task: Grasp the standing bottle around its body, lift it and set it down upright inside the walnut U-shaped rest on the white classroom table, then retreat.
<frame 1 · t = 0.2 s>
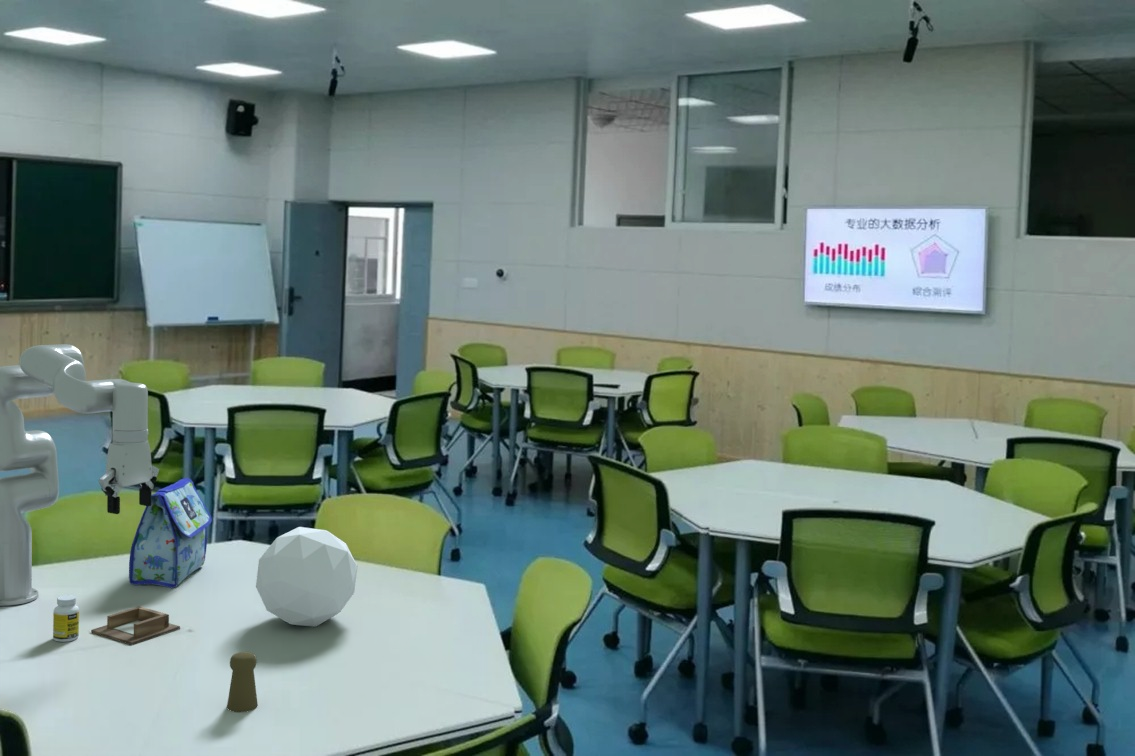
hand: (129, 509, 255), 30 cm above the table, tool pointing down, fingers open, 9 cm apart
supplement bottle: (66, 639, 254), on the table
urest: (136, 630, 262), on the table
geometric polyhedron: (305, 622, 274), on the table
lunch bag: (171, 577, 306), on the table
olive game pawn: (242, 707, 222), on the table
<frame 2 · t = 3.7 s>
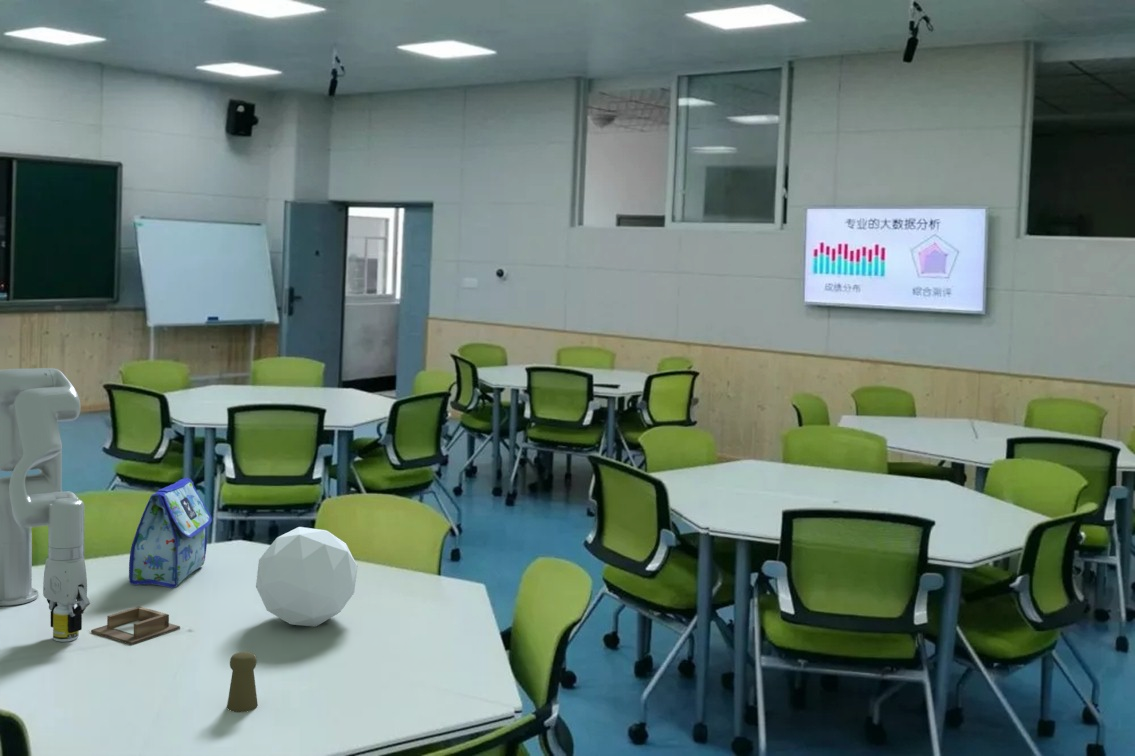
hand: (66, 627, 254), 3 cm above the table, tool pointing down, fingers closed on supplement bottle, 5 cm apart
supplement bottle: (66, 639, 254), on the table, touching gripper
everything else where it was.
when the fingers open (4 cm above the table, at t = 9.4 s): supplement bottle stays where it is, resting on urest.
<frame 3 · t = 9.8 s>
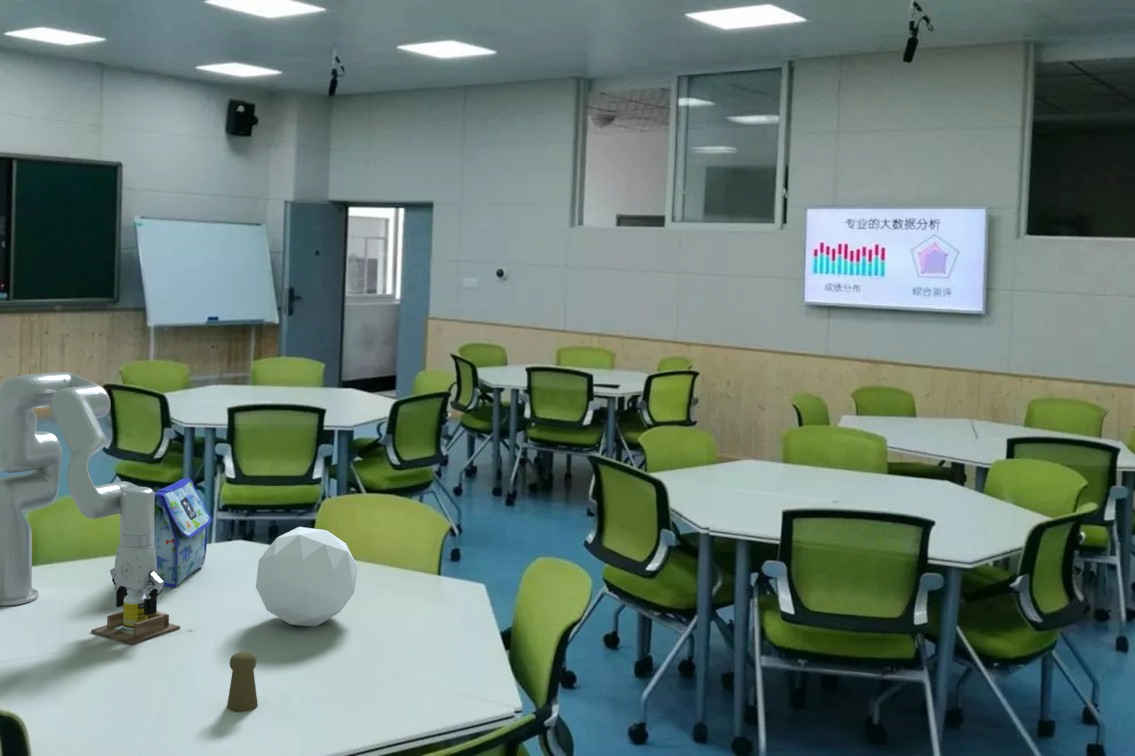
hand: (136, 609, 261), 5 cm above the table, tool pointing down, fingers open, 9 cm apart
supplement bottle: (135, 627, 262), point 1 cm above the table, touching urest
everything else where it was.
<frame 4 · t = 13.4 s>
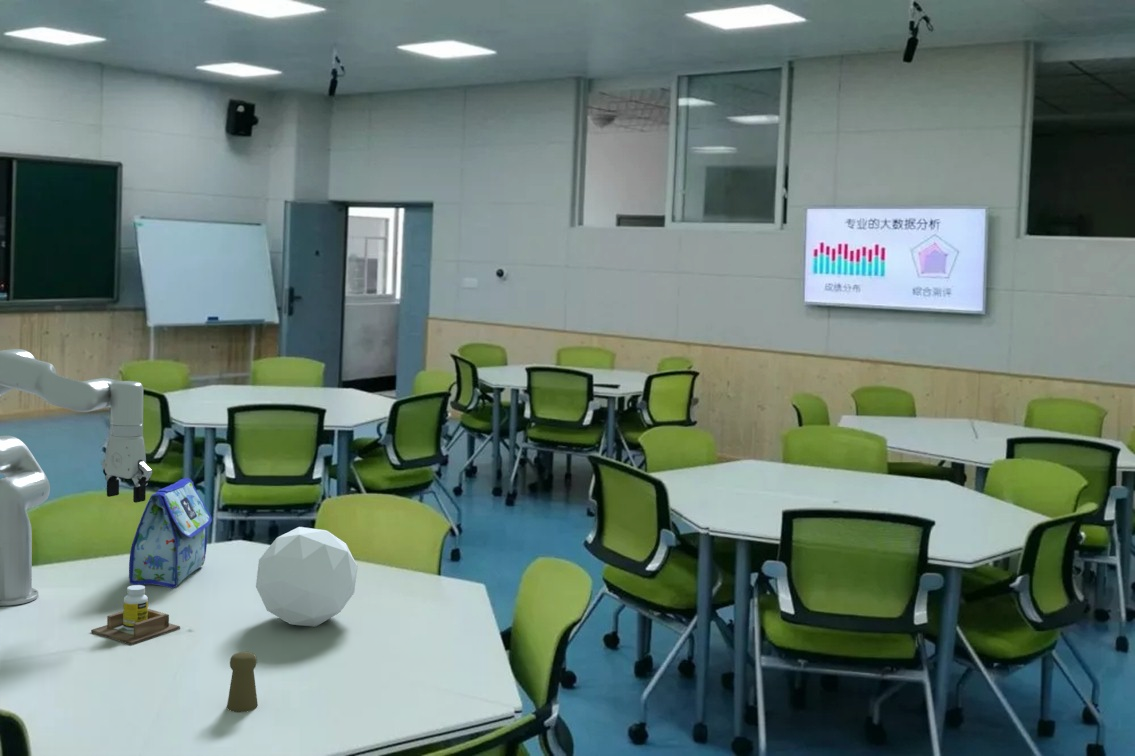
hand: (126, 498, 274), 28 cm above the table, tool pointing down, fingers open, 9 cm apart
nothing on the table moved.
at the end: supplement bottle inside the target area on the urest (0.2 cm from its centre), point 0.6 cm above the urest's base; supplement bottle tilted 0°; the gripper is holding nothing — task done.
